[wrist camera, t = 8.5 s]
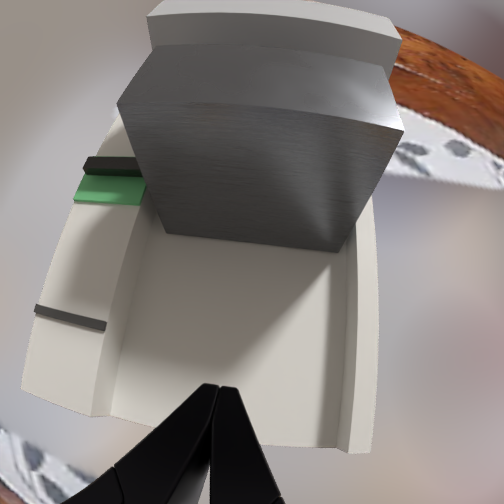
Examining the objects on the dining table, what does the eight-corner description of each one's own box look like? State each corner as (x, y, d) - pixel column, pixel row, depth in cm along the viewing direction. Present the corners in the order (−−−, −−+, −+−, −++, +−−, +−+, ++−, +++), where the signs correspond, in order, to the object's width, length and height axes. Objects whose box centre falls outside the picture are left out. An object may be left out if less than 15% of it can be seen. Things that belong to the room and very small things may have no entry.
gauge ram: (338, 252, 16) (404, 130, 8) (93, 225, 17) (21, 114, 9) (336, 191, 18) (382, 66, 10) (115, 170, 18) (68, 57, 11)
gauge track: (350, 445, 13) (486, 485, 4) (53, 393, 13) (-96, 359, 4) (350, 139, 21) (388, 18, 12) (141, 121, 22) (111, 5, 13)
